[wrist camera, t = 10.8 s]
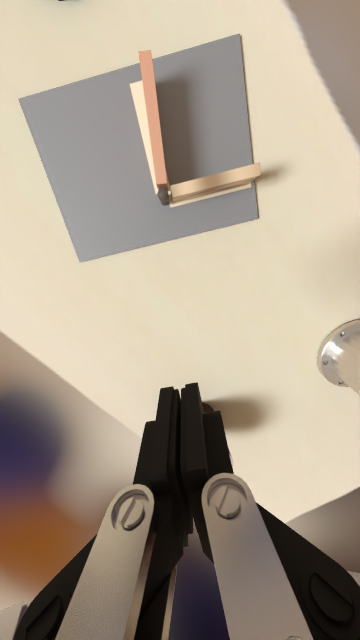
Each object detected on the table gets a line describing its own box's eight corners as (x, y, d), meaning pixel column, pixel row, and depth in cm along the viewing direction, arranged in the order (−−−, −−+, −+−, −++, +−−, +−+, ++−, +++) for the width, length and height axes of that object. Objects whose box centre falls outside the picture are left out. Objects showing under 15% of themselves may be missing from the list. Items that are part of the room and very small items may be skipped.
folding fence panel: (168, 191, 30) (167, 183, 25) (159, 192, 30) (156, 184, 25) (155, 82, 26) (151, 49, 21) (144, 83, 26) (138, 51, 21)
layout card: (238, 35, 25) (239, 33, 25) (257, 218, 32) (258, 218, 31) (20, 100, 27) (18, 98, 26) (80, 262, 33) (79, 262, 33)
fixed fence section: (245, 174, 29) (259, 162, 25) (247, 184, 30) (260, 174, 25) (159, 196, 30) (156, 189, 25) (161, 206, 31) (159, 201, 26)
